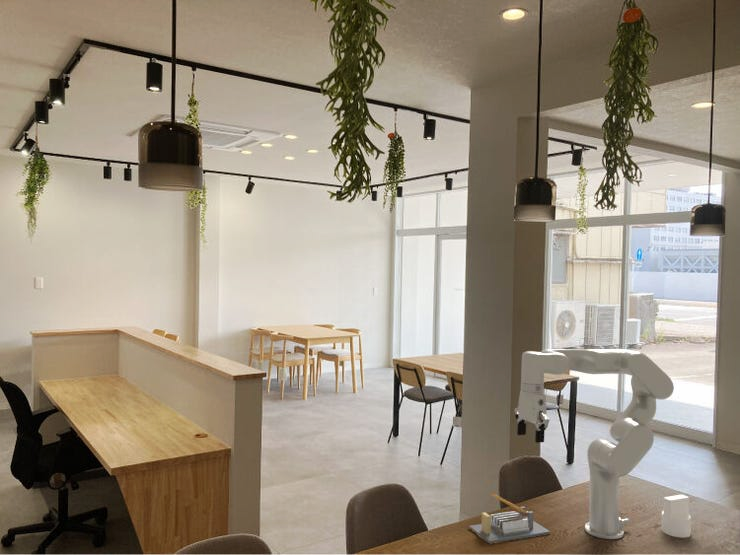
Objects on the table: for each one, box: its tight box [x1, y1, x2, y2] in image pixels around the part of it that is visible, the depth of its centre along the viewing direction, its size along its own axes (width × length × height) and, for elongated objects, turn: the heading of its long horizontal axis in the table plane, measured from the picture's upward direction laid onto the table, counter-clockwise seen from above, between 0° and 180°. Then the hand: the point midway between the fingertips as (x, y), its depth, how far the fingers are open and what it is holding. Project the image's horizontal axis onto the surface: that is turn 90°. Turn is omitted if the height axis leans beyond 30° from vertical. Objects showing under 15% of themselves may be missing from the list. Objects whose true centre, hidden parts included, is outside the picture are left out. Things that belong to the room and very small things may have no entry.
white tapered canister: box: [661, 494, 692, 538], centre depth 206 cm, size 9×9×12 cm
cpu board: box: [468, 506, 551, 544], centre depth 205 cm, size 24×13×7 cm, turn 110°
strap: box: [491, 493, 529, 517], centre depth 206 cm, size 16×3×1 cm, turn 109°
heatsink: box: [490, 510, 529, 536], centre depth 205 cm, size 10×9×4 cm
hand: (530, 438), depth 202 cm, fingers open, 9 cm apart
